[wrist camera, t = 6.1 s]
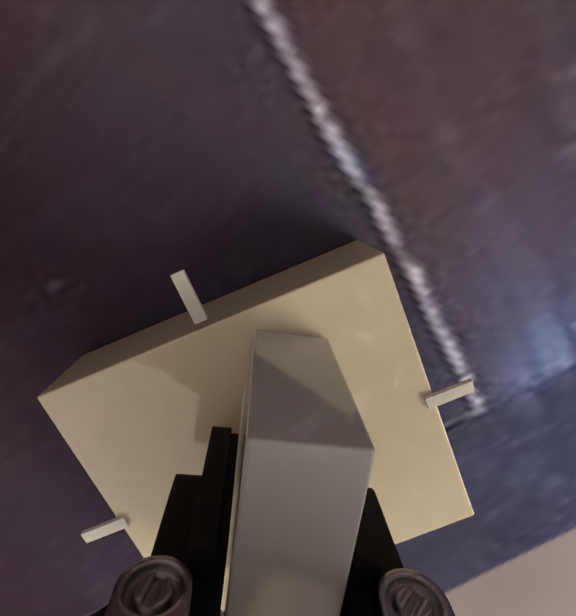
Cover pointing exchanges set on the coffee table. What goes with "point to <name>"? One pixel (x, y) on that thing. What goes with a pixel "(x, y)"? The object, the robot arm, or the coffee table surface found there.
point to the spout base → (233, 386)
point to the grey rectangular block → (296, 482)
